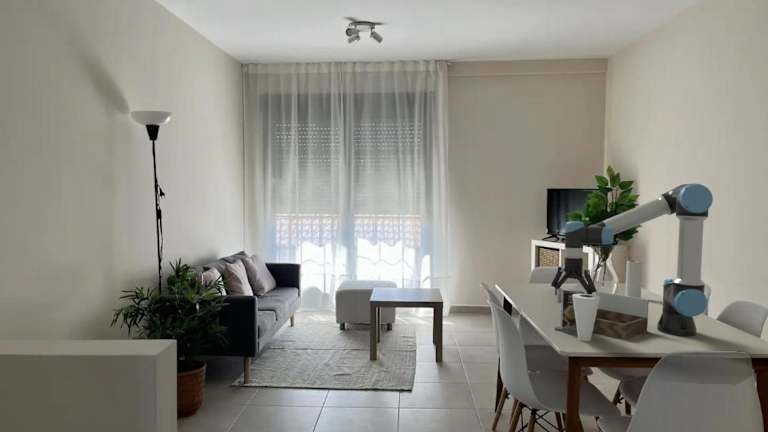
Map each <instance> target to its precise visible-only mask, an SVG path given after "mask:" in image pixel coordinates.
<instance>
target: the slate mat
mask: <svg viewBox="0 0 768 432" xmlns="http://www.w3.org/2000/svg"><path fill="white" fill-rule="evenodd" d="M554 331H557V332H558V331H559V332H563V333H567V334H570V335H576V336H577V335H578V333H577V330H568V329H562V328H561V325H559V326H556V327H554Z"/></svg>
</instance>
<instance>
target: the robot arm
mask: <svg viewBox="0 0 768 432" xmlns="http://www.w3.org/2000/svg"><path fill="white" fill-rule="evenodd" d="M713 198H714V197H713V193H712V191H711V190H710V189H709V188H708V187H707V186H705V185H702V184H700V183H695V182H693V183H683V184H681V185H678V186H676V187H674V188H672V189H669V190H668V191H666V192H664V193H662V194H659V196H658V198H656V199H654V200H653V199H652V200H651V201H649V202H646V203H644V204H641V205H639V206H637V207H633V208H631V209H628V210H626V211H624V212H621V213H619V214H617V215H614V216H612V217H610V218H607V219H605V220H602V221H600V222H597V223H595V224H594V223H593V224H590V225H589V226H586V225H584V222H583V221H567V222H566V223H565V229H564V256H565V257H564V266H558V267H557V272H556V274H555V276H554V278H553V280H552V281H551V284H550V286H551V287H553V288H555V289H554V296H556V304H557V305H559V304H562V290H563V289H562V288H561V287H562V286H563V284H564V283H565V282H566V281H567V280H568V279H573V280H577V281H578V282H579V283H580V284H581V286H582V287H583V289H584V290H585V292H586V293H585V292H584V293H585V294H592V295H593V293H596V291H598V290H597V288H596V286H595V284H594V281H593V279H592V276H591V273H590V269H583V266H584V259H583V257H584V245H587V244H588V245H612V244H613V243H614V239H615V238H614V237H615V236H614V235H616V234H619V233H622V232H624V231H626V230H629V229H632V228H635V227H637V226H640V225H642V224H644V223H647V222H650V221H652V220H654V219H657V218H659V217H662V216H664V215H667V216H668V215H669V216H671V215H674V214H675V217H676V218H677V219H678V221H679V222H678V225H679V226H678V227H679V228H678V246H677V263H676V265H677V270H676V278H672V279H670V278H668V279H664V281H663V284H662V287H663V289H662V290H663V291H662V312H661V315H660V316H659V317H660V318H659V319H658V322H657V327H656V328H657V331H659V332H662V333H665V334H669V335H675V336H683V337H685V336H687V337H688V336H689V337H690V336H696V335H697V327H696V323H695V319H694V317H697V316H700V315H702V314H703V313H704V312H705V311H706V309H707V307H708V298H707V296H706V294H705V287H706V286H705V283H704V281H703V280H702V279H701V278H702V276H701V275H702V261H703V237H704V223H705V222H704V221H705V220H706V219H708V218H709V209H710V207H711V206H712V204H713V201H714V199H713ZM563 272H565V273H564V275H563ZM562 275H563V276H562ZM583 275H584V276H583Z"/></svg>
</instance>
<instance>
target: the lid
mask: <svg viewBox="0 0 768 432" xmlns="http://www.w3.org/2000/svg"><path fill="white" fill-rule="evenodd" d="M595 295H597V296H599V297H600V300H599V305H598V309H603V310H608V311H613V312H618V313H624V314H629V315H634V316H639V317H644V318H648V319H649V299H647V298H642V297H641V298H635V297H629V296H625V295H622V294H617V293H609V292H603V291H598V290H597V291H596V292H595Z"/></svg>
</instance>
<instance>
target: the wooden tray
mask: <svg viewBox="0 0 768 432" xmlns="http://www.w3.org/2000/svg"><path fill="white" fill-rule="evenodd" d="M648 320H649V317H648V318H644V317H639V316H634V315H629V314H624V313H618V312H613V311H608V310H603V309H598V310H597V314H596V318H595V323H594V326H593V327H594V328H593V332H592V333H596V334H600V335H604V336H605V335H606V336H609V337H613V338H618V339H623V340H626V339H629V338H632V337H634V336H637V335H640V334H644V333H646V332H648V325H649V322H648Z"/></svg>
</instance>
